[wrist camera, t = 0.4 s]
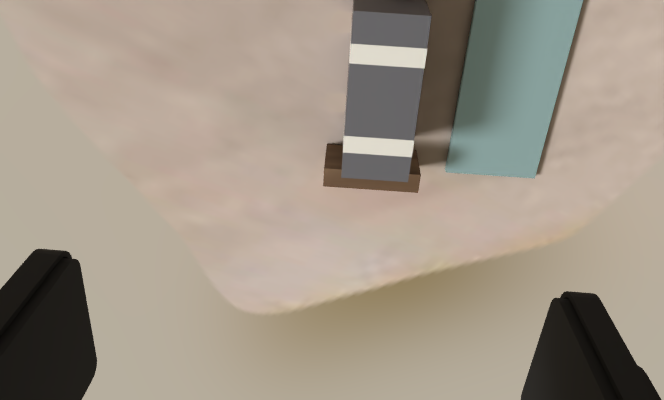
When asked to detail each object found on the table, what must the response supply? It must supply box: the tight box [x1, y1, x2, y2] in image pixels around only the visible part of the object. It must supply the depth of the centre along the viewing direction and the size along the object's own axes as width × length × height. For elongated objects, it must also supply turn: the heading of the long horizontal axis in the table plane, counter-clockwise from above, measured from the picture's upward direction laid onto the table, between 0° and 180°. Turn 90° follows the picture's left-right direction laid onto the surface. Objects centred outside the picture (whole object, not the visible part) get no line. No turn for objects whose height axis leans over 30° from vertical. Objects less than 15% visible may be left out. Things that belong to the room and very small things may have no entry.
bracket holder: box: [323, 144, 421, 193], centre depth 41 cm, size 16×7×4 cm, turn 177°
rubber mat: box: [445, 0, 583, 178], centre depth 42 cm, size 16×7×1 cm, turn 177°
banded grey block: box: [341, 0, 432, 182], centre depth 39 cm, size 11×4×7 cm, turn 177°
